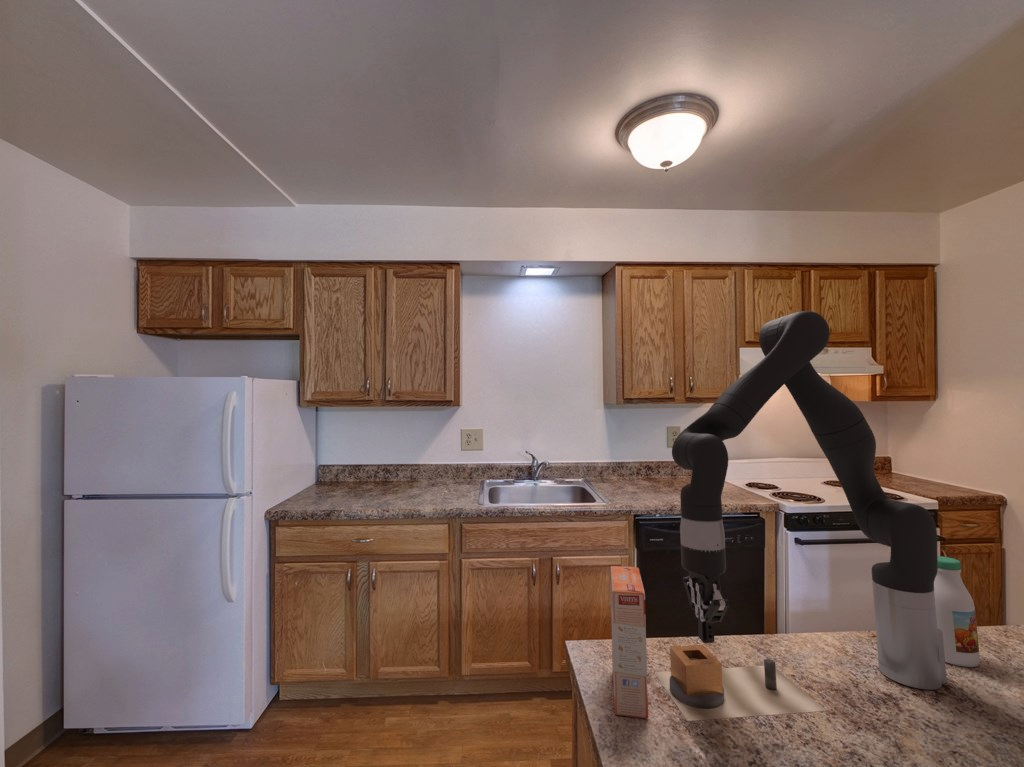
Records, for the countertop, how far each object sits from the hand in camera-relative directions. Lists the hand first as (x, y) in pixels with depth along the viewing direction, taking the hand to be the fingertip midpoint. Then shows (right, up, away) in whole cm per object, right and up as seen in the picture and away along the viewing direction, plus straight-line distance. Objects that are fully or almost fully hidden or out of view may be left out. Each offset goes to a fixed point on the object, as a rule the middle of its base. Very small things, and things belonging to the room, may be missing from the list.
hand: (706, 640), depth 82 cm
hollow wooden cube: (-2, -7, -1) cm, 8 cm away
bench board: (+5, -10, 0) cm, 11 cm away
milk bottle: (+56, -10, +12) cm, 58 cm away
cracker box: (-13, -11, +2) cm, 17 cm away
